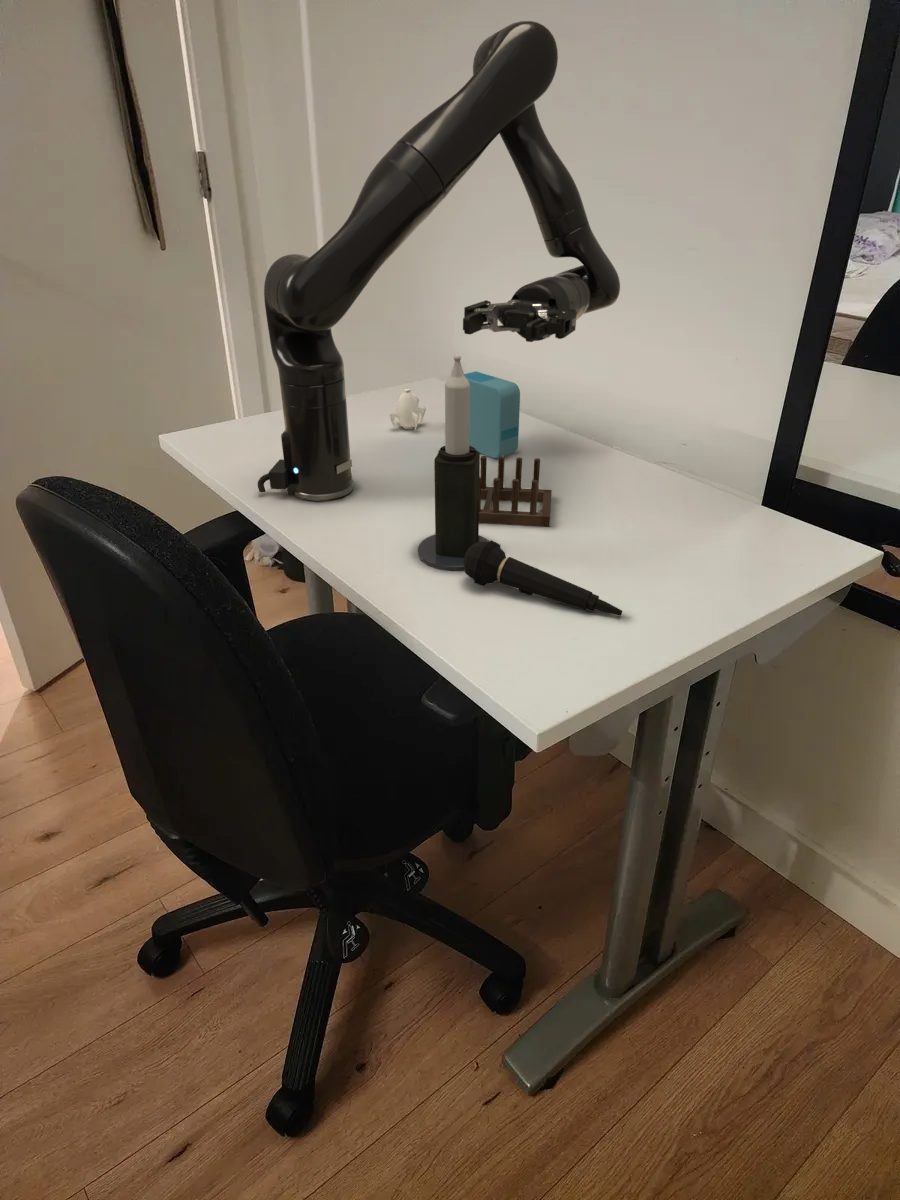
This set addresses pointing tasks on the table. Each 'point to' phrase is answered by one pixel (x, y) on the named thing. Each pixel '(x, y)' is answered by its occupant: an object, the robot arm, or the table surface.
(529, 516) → the drying rack
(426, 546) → the slate coaster
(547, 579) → the microphone
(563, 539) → the table surface
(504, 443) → the data package
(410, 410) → the rocket toy
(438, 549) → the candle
